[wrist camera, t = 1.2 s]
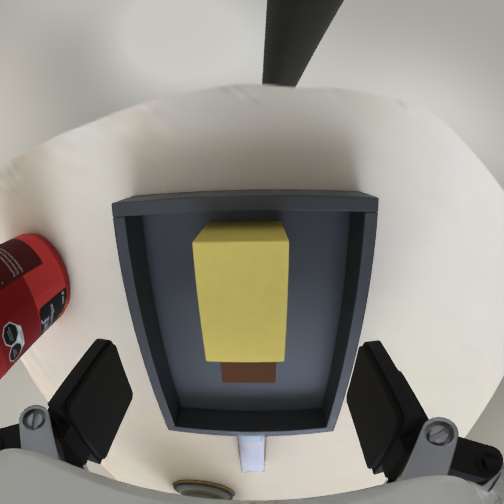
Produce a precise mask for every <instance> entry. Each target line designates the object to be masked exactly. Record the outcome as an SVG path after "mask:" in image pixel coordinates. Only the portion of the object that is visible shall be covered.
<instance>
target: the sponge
mask: <svg viewBox="0 0 504 504" xmlns="http://www.w3.org/2000/svg"><path fill="white" fill-rule="evenodd" d="M192 246H193V257H194V267H195V277H196V287H197V296H198V304H199V312H200V320H201V328H202V335H203V343H204V349H205V356H206V361H213V362H283V361H284V358H285V341H286V322H287V300H288V271H289V240H288V237H287V235H286V232H285V230H284V227H283V224H282V222H281V221H280V220H271V221H216V222H208V223H207V224H206V226H205V227H204V228H203V229H202V231H201V232H200V233H199V234H198V236H197V237H196V238H195V240H194V241H193V242H192Z"/></svg>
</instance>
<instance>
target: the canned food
mask: <svg viewBox="0 0 504 504" xmlns="http://www.w3.org/2000/svg"><path fill="white" fill-rule="evenodd" d="M69 297H70V286H69V280H68V276H67V272H66V269H65V267H64V264H63V262H62V260H61V258H60V256H59V255H58V253H57V251H56V250H55V249H54V247H53V246H52V245H51V244H50V243H49V242H48V241H47V240H46V239H45V238H43V237H41V236H39V235H36V234H22V235H20V236H18V237H15V238H13V239H11V240H9V241H7V242H4V243H2V244H0V379H1V378H2V377H3V376H4V375H5V374H6V373H7V371H8V370H9V369H10V368H11V367H12V366H13V365H14V364H15V362H16V361H17V360H18V359H19V358H20V357H21V356H22V355H23V354H24V353H25V352H26V351H27V350H28V349H29V348H30V347H31V345H32V344H33V343H34V342H35V341H36V340H37V339H38V338H39V337H40V336H41V335H42V334H43V333H44V332H45V331H46V330H47V329H48V328H49V327H50V326H51V325H52V324H53V323H54V322H55V321H56V320H57V319H58V318H59V317H60V316H61V315H62V314H63V313H64V311H65V309H66V307H67V304H68V302H69Z"/></svg>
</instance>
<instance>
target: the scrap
mask: <svg viewBox="0 0 504 504" xmlns="http://www.w3.org/2000/svg"><path fill="white" fill-rule="evenodd" d="M220 365H221V373H222V381H223V382H224V383H275V380H276V362H220Z"/></svg>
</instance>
